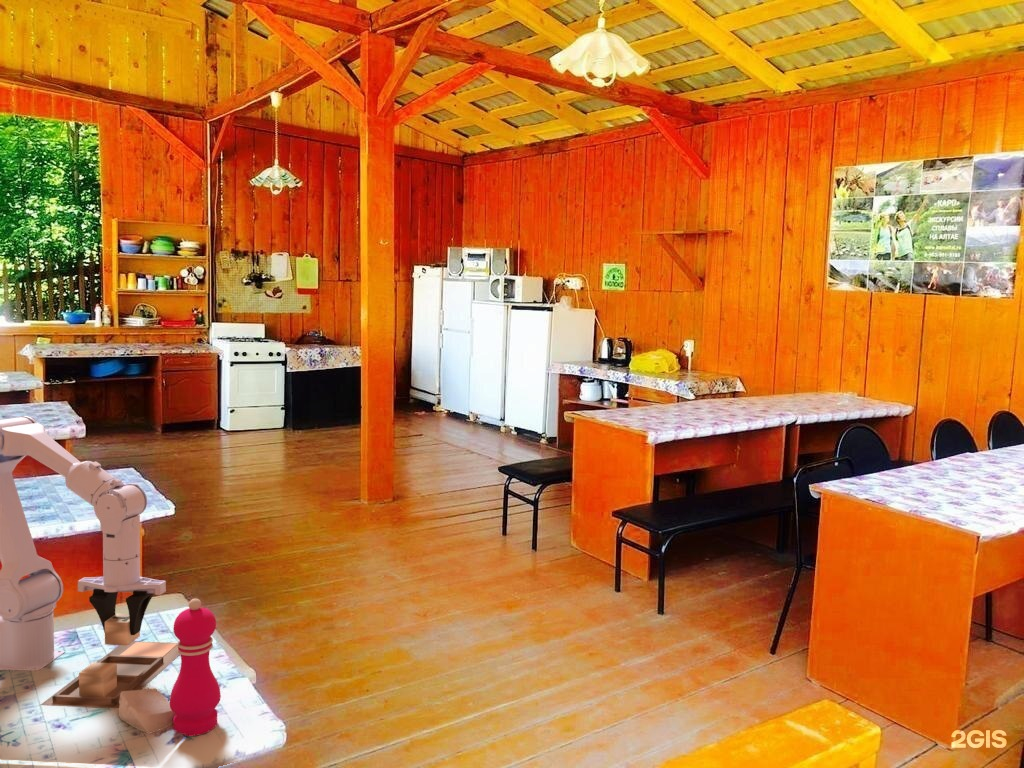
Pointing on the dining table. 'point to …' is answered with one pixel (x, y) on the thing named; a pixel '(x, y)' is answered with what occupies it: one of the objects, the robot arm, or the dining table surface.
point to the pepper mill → (195, 672)
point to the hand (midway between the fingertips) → (122, 632)
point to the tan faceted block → (145, 710)
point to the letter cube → (119, 630)
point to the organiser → (122, 674)
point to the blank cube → (98, 679)
